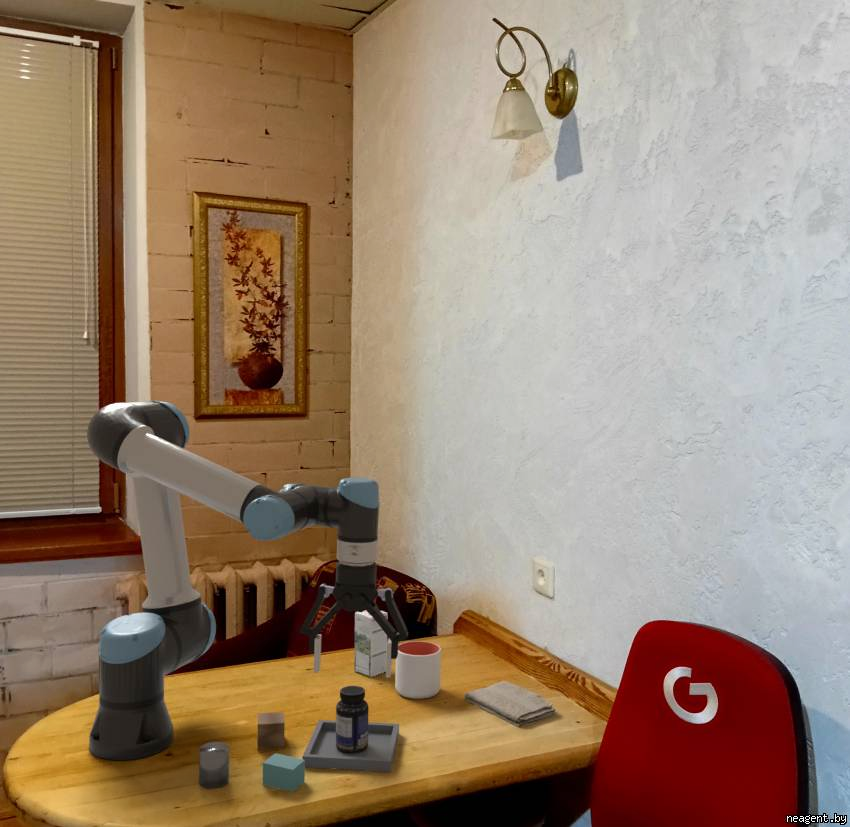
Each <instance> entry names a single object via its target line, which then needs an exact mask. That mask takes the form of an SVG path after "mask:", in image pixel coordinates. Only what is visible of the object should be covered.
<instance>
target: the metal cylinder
mask: <svg viewBox="0 0 850 827" xmlns="http://www.w3.org/2000/svg"><path fill="white" fill-rule="evenodd" d="M198 753H199V754H198V755H199V757H198V759H199V760H198V763H199V764H198V766H199V768H198V781H199V782H198V785H199V786H200V787H201V788H203V789H206V790H216V789H221V788H223V787H225V786H227V785H228V784H229V782H230V745H229V744H228V743H226V742H222V741H212V742H207V743H205V744H203V745H201V746H200V747H199V752H198Z"/></svg>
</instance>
